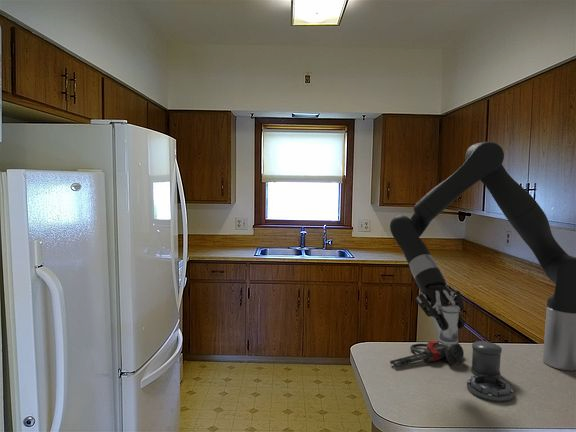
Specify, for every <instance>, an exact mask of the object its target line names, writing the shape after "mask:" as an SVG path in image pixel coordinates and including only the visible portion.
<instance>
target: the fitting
mask: <svg viewBox="0 0 576 432" xmlns="http://www.w3.org/2000/svg"><path fill="white" fill-rule="evenodd" d="M440 310H441V312H442V313H441V315H443V316H444V318H445V320H446V322H447V324H448V326H449V328H448V329H447V330H445V331H443V330H442V329H441V328H440V327H439V330H438V331H439V332H438V333H439V334H438V337H437V342H439V344H444V345H447V346H454V345H457V344H458V343H459V338H458V336H459V335H458V334H459V333H458V331H459V329H458V318H459V312H460V307H459V306H457V305H453V304H450V303H448V304H441V306H440ZM460 313H461V312H460Z"/></svg>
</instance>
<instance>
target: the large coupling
mask: <svg viewBox="0 0 576 432" xmlns="http://www.w3.org/2000/svg"><path fill="white" fill-rule="evenodd" d="M471 348H472V355H471V356H472V357H471V358H472V360H471V367H470V372H471V373H472V375H473V376H475V375H481V374H482V375H483V374H484V375H489V376H494V377H497V378H501V355H502V351H503V349H502V347H501V346H500V345H499V344H496V343H494V342H490V341H483V340H479V341H475V342H472V344H471Z"/></svg>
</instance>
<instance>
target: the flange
mask: <svg viewBox="0 0 576 432" xmlns="http://www.w3.org/2000/svg"><path fill="white" fill-rule="evenodd" d="M466 381H467V382H466V389H467V390H468V392H469V393H470V394H472V395H473V396H475V397H477V398H479V399H482V400H484V401H488V402H492V403H493V402H495V403H507V402H511V401H512V400H513V399H514V388H513V389H512V387H511V385H510V382H509V383H508V382H507V381H505V380H503V379H501V377H499V378H497V377H494V376H489V375H484V374H483V375H482V374H481V375H471V376H470V379H468V380H466Z"/></svg>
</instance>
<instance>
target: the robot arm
mask: <svg viewBox="0 0 576 432" xmlns="http://www.w3.org/2000/svg"><path fill="white" fill-rule="evenodd" d="M464 160H465V161H464V162H463V164H462V165H461V166H459V168H458V169H457V170H456V171H455V172H453V174H451V175H450V176H448V177H447V178H446V179H444V180H442V181H441V182H440V183H439V184H438V185H436V186H435V187H433V188H432V189H430V190H429V192H427V193H426V194H424V196H423V197H422V198H420V200H418V201H417V202H416V203H415V205H414V206H413V211H414V213H413V214H412V215H411V217H408V216H406V215H403V214H402V215H401V214H399V215H396V216H394V217H393V218H392V219H391V221H390V223H389V228H390V233H391V235H392V237H393V239H394V240H395V242H396V244H398V246H399V248H400V249H401V251H402V253H403V255H404V257H405V259H406V262H407V264H408V266H409V269H410V272H411V274H412V277H413V278H414V281H415V283H416V285H417V287H418V289H419V291H420V294H418V295H417V297H416V298H415V301H416V303H417V304H418V306H419V307H420V309H422V311H423V312H424V314H425V315H426V316H427V317H429V318H430V317H432V318H434V319H435V321H436V323H437V325H438V327H439V329H440V328H441V329H442V330H443V331H445V330H447V329H448V328H449V326H448V324H447V322H446V320H445V318H444V316H443V315H441V313H442V312H441V310H440V306H441V304H453V305H457V306H459V307H460V312H459V318H458V330H459V329H462V328H464V327H465V326H466V325H465V320H464V319H463V317H462V314H461V312H463V310H465V307H464V306H465V305H464V303H463V299H462V295H461V291H459V290H455V291H451V290H450V289H449V288H448V287H447V281H446V279H445V277H444V275H443V273H442V272H441V269H440V268H439V266H438V264H437V262H436V261H435V259H434V257H433V256H432V255H431V254H432V253H431V252H430V251H429V248H428V247H427V245H426V244H425V242H424V241H423V240H422V239H421V238H420V237H421V236H422V235H423V233H425V231H426V229H427V228H428V226H429V225H430V224H431V222H432V221H433V220H434V219H435V218H437V216H439V215H440V214H441V213H442V212H443V211H444V210H446V209H447V208H448V207H449V206H450V205H451V204H452V203H453V202H455V200H456V199H457V198H458V197H460V196H461V195H462V194H463V193H465V192H466V191H467V190H468V189H469V188H471V187H472V186H473V185H475V184H476V183H478V182H479V181H480V182H481V183H482V184H483V185H484V186H485V188H486V189H487V190H488V191H489V193H490V195H491V196H492V198H493V200H494V201H495V203H496V204H497V206H498V208H499V209H500V211H501V212H502V213H503V215H504V217H505V218H506V220H507V221H508V222H509V224H510V225H511V226H512V228H513V229H514V230H515V231H516V232H517V234H518V235H519V237H520V238H521V239H522V241H524V243H525V244H526V245H527V246H528V248H529V249H530V250H531V251H532V253H533V255H534V256H535V258H536V259H537V261H538V263H539V265H540V266H541V268H542V270H543V272H544V273H545V275H546V277H547V278H548V279H549V280H550V281H552V282H553V283H554V284H555V287H554V288H555V289H554V293H553V295H550V296H548V297H547V299H546V309H545V310H546V311H545V326H544V338H543V340H544V341H543V350H542V351H543V352H542V362H543V364H546V365H547V366H549V367H552V368H555V369H559V370H563V371H571V372H572V371H573V372H574V371H576V256H572V255H569V254H568V253H567V252H566V251H565V250H564V249H563V248H562V246H561V245H560V244H559V243H558V241H556V239H555V237H554V236H553V234H552V230H551V226H550V223H549V220H548V219H549V218H548V217H547V214H546V213H545V211H544V210H543V209H542V207H541V206H540V204H539V203H538V202H537V200H536V199H535V198H534V197H533V196H532V195H531V194H530V193H529V192H528V191H527V190H526V189H525V188H524V187H523V186H522V185H520V183H518V182H517V181H516V180H515V179H514V178H513V177H512V176H511V175H510V174H509V173H508V171H507V170H506V169H505V167H504V165H503V162H504V160H505V152H504V149H503V148H502V147H501V146H500V145H499V144H498V143H495V142H493V141H483V142H477V143H474V144H472V145H470V146H469V147H468V148H467V150H466V152H465V157H464Z"/></svg>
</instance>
